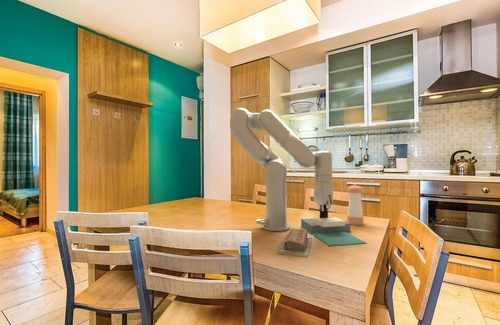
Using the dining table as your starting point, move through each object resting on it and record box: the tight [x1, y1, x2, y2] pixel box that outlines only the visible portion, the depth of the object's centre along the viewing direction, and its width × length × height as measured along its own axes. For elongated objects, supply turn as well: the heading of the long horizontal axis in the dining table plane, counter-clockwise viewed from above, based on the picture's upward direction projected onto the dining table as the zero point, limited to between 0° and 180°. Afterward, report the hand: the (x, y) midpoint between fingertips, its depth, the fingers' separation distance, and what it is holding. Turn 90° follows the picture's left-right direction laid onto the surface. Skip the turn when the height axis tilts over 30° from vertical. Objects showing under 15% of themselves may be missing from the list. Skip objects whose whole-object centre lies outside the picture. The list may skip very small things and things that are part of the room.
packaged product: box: [277, 228, 313, 258], centre depth 89 cm, size 18×5×10 cm
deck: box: [300, 216, 352, 235], centre depth 111 cm, size 18×12×4 cm, turn 99°
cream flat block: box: [315, 216, 346, 227], centre depth 105 cm, size 10×7×2 cm
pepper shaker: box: [346, 183, 364, 226], centre depth 119 cm, size 7×7×19 cm
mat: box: [311, 231, 367, 247], centre depth 97 cm, size 15×15×1 cm
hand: (323, 219), depth 110 cm, fingers closed
